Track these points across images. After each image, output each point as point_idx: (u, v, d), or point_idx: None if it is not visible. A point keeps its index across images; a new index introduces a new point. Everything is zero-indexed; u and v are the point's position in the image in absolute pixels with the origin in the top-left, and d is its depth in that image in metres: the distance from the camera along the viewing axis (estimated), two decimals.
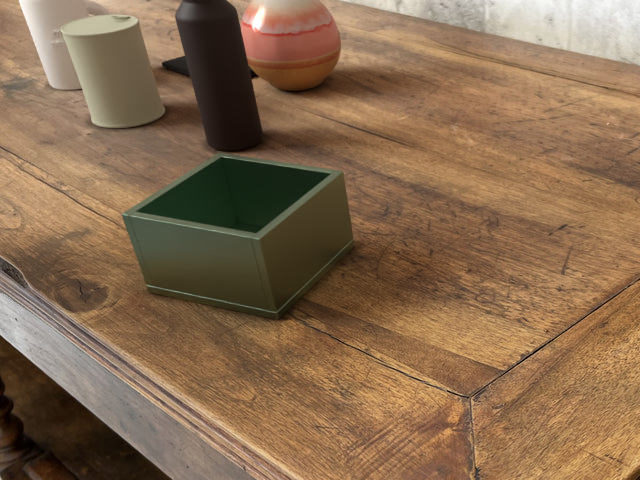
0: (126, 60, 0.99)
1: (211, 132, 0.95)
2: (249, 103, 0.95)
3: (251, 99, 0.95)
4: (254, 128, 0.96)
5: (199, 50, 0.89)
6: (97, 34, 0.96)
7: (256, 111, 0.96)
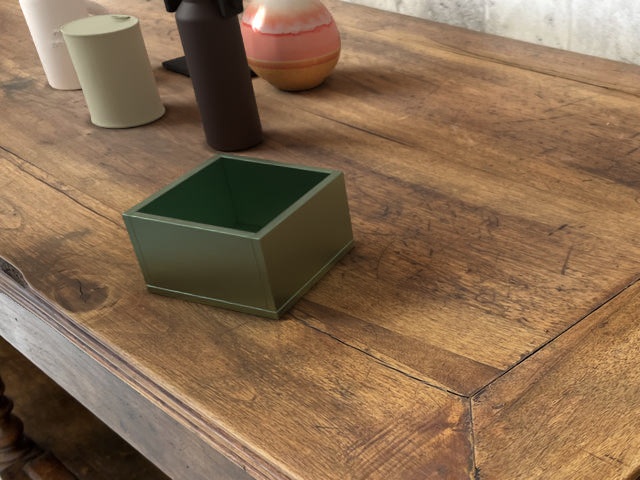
0: (126, 60, 0.99)
1: (211, 132, 0.95)
2: (249, 103, 0.95)
3: (251, 99, 0.95)
4: (254, 128, 0.96)
5: (198, 50, 0.89)
6: (97, 34, 0.96)
7: (256, 111, 0.96)
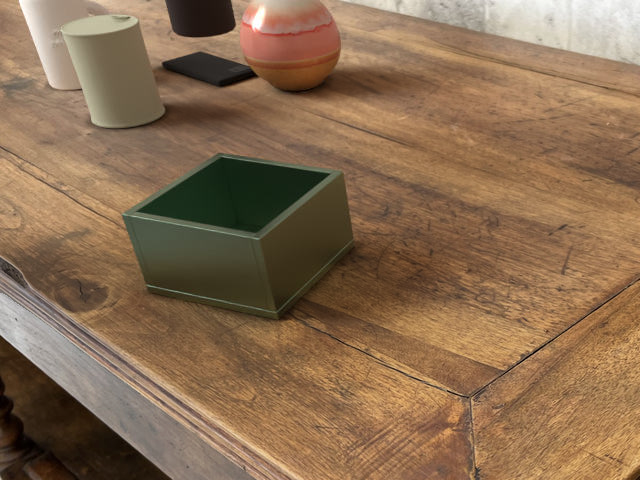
0: (126, 60, 0.99)
1: (176, 14, 0.85)
2: None
3: None
4: (225, 12, 0.86)
5: None
6: (97, 34, 0.96)
7: None
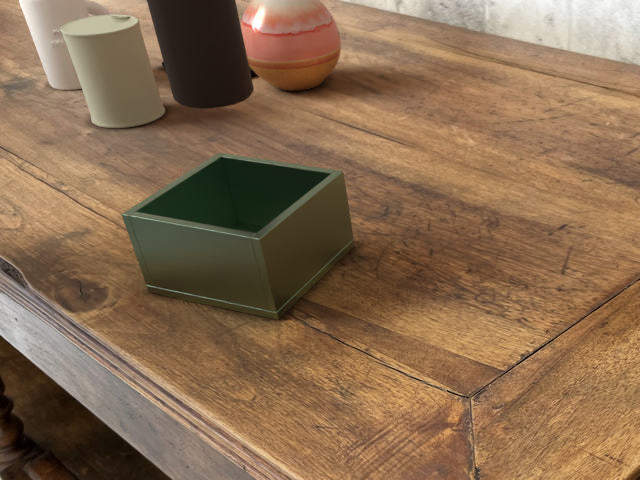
0: (126, 60, 0.99)
1: (178, 81, 0.66)
2: (233, 39, 0.65)
3: (236, 33, 0.66)
4: (240, 76, 0.67)
5: None
6: (97, 34, 0.96)
7: (243, 51, 0.67)
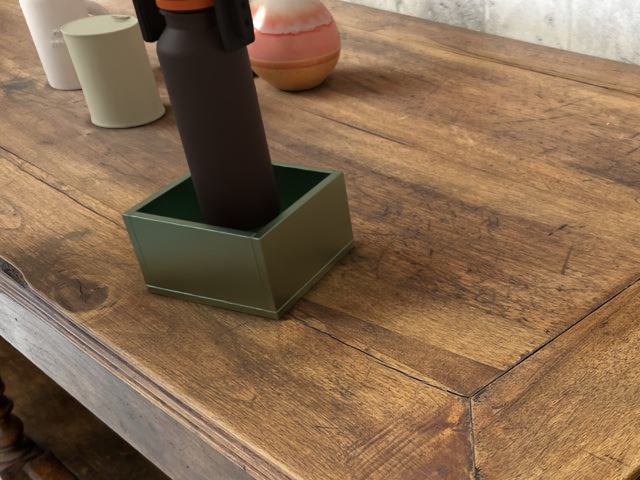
0: (126, 60, 0.99)
1: (209, 207, 0.68)
2: (262, 167, 0.67)
3: (265, 161, 0.68)
4: (269, 201, 0.69)
5: (190, 97, 0.62)
6: (97, 34, 0.96)
7: (271, 177, 0.69)
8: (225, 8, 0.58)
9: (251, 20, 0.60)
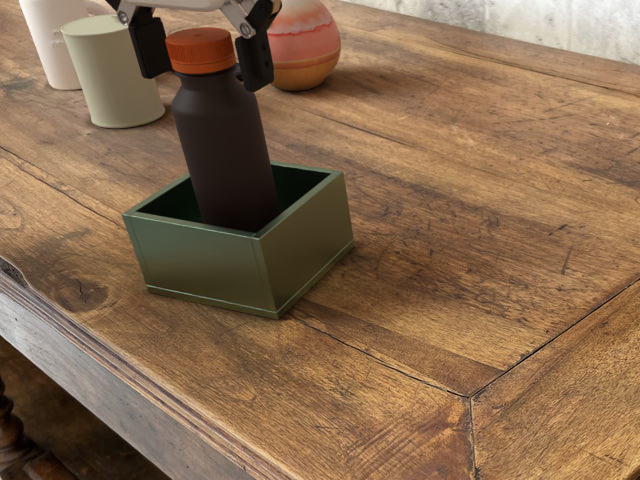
0: (126, 60, 0.99)
1: None
2: (272, 216, 0.70)
3: (275, 210, 0.70)
4: None
5: (204, 153, 0.64)
6: (97, 34, 0.96)
7: None
8: (246, 51, 0.60)
9: (271, 61, 0.62)
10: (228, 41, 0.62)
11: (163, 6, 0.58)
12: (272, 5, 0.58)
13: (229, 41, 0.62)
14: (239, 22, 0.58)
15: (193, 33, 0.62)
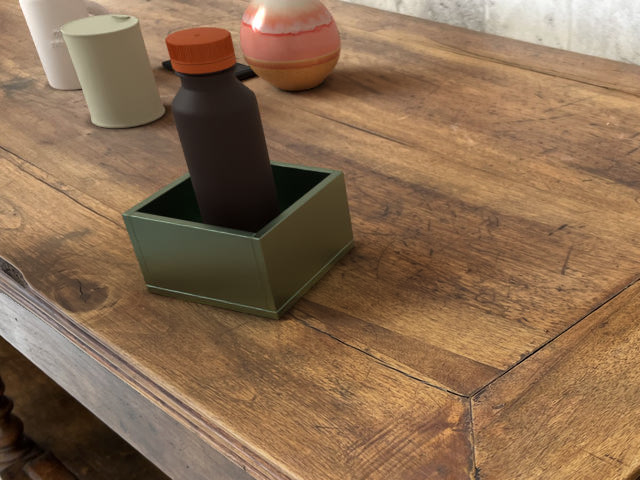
0: (126, 60, 0.99)
1: None
2: (272, 216, 0.70)
3: (275, 210, 0.70)
4: None
5: (204, 153, 0.64)
6: (97, 34, 0.96)
7: None
8: None
9: None
10: (228, 41, 0.62)
11: None
12: None
13: (229, 41, 0.62)
14: None
15: (193, 33, 0.62)
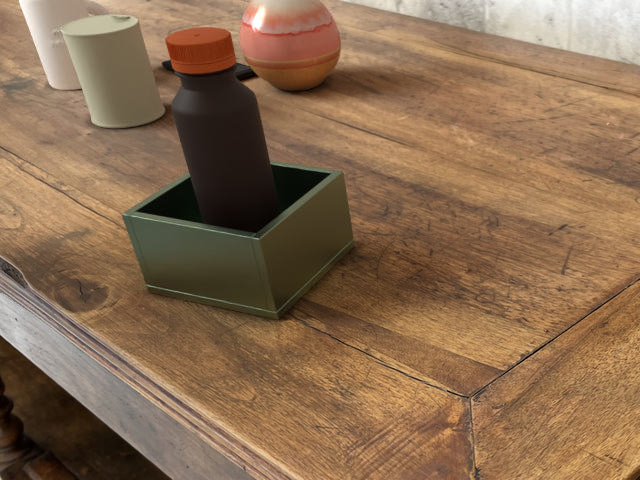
0: (126, 60, 0.99)
1: None
2: (272, 216, 0.70)
3: (275, 210, 0.70)
4: None
5: (204, 153, 0.64)
6: (97, 34, 0.96)
7: None
8: None
9: None
10: (228, 41, 0.62)
11: None
12: None
13: (229, 41, 0.62)
14: None
15: (193, 33, 0.62)
